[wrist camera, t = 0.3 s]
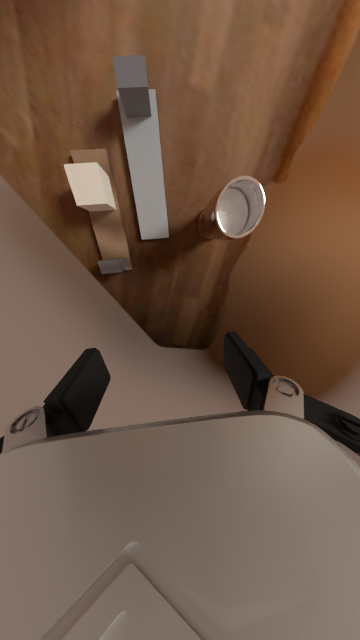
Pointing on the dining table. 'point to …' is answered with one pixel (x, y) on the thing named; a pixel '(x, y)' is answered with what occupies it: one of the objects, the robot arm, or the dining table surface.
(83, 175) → the cream block
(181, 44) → the dining table surface
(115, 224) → the brown long piece
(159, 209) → the grey strip
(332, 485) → the robot arm
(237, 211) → the beer glass
